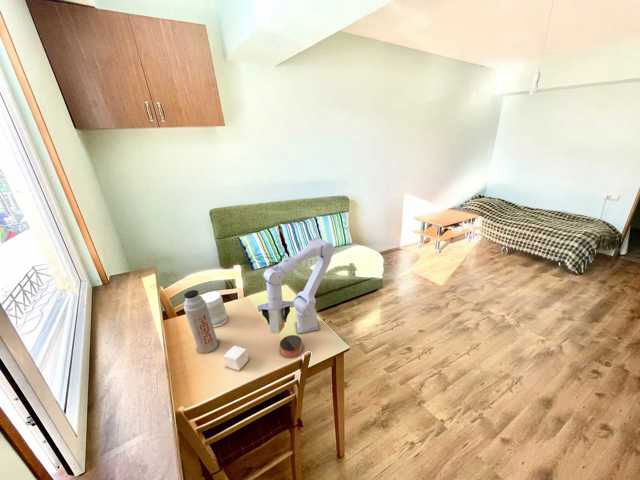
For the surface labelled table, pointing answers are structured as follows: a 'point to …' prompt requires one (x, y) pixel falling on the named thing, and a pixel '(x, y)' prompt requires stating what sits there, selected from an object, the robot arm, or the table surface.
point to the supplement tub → (215, 308)
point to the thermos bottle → (200, 322)
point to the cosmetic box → (276, 320)
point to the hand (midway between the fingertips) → (277, 322)
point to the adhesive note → (236, 357)
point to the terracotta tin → (291, 346)
